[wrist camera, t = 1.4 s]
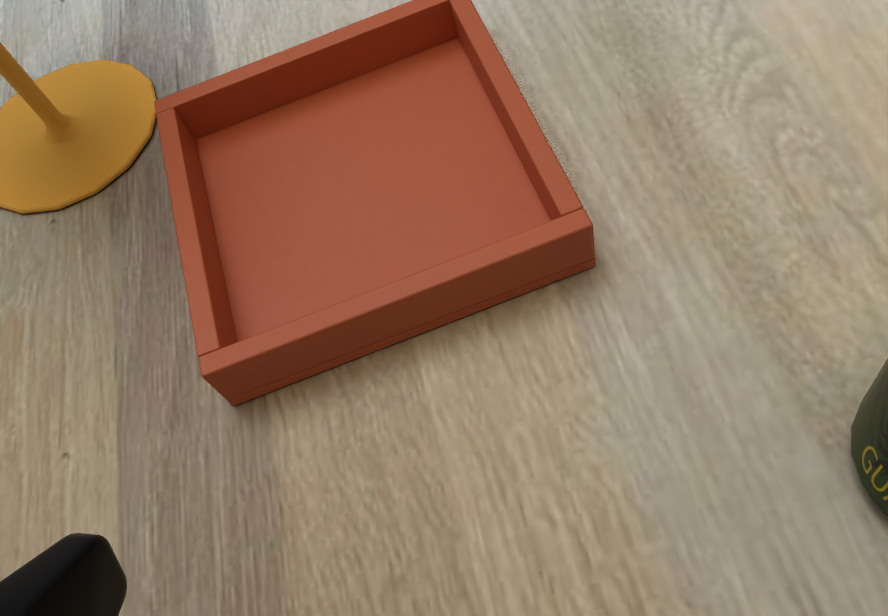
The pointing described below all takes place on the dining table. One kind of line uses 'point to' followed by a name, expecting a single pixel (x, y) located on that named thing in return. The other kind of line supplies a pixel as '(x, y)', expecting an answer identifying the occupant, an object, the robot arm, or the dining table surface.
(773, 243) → the dining table surface
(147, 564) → the dining table surface
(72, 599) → the robot arm
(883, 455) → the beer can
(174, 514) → the dining table surface
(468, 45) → the tray
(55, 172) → the cup
